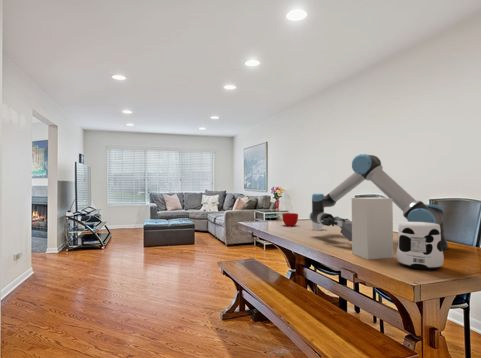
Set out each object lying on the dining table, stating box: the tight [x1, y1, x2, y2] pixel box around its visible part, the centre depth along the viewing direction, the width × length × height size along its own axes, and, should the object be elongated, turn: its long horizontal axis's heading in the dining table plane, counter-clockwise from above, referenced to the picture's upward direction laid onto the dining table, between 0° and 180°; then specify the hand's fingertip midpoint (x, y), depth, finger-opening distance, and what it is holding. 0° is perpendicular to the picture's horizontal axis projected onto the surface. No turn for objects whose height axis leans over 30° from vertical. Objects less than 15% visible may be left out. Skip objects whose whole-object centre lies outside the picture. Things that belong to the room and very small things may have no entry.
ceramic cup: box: [281, 212, 299, 227], centre depth 260 cm, size 13×17×10 cm
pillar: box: [351, 196, 394, 260], centre depth 152 cm, size 12×14×28 cm
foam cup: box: [311, 221, 323, 231], centre depth 236 cm, size 10×9×13 cm
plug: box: [333, 216, 352, 242], centre depth 173 cm, size 19×6×5 cm
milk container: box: [395, 221, 445, 270], centre depth 132 cm, size 17×17×18 cm
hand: (346, 224), depth 172 cm, fingers closed on plug, 6 cm apart
